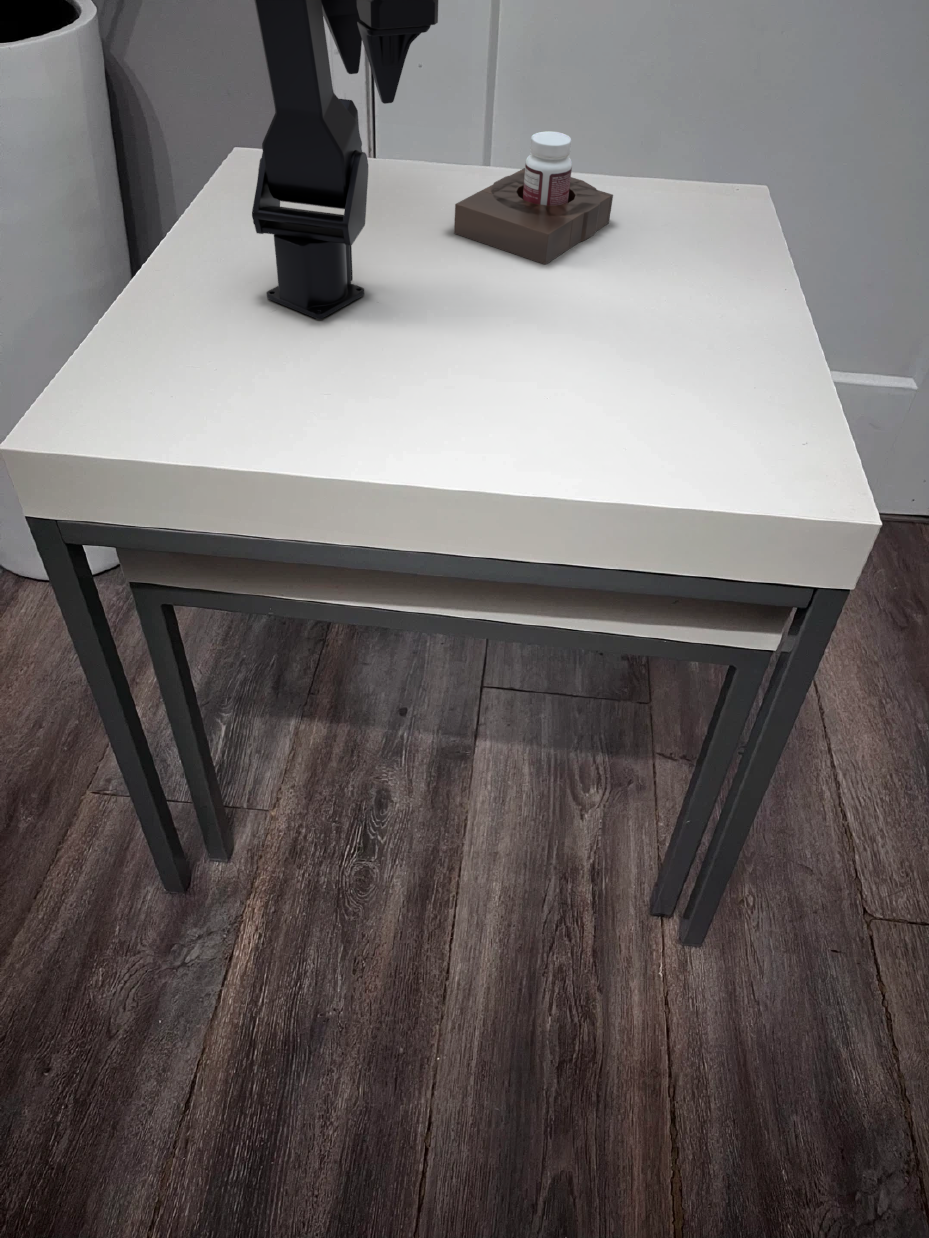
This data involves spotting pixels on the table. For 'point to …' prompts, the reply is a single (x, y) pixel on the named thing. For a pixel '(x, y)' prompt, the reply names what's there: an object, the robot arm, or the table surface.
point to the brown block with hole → (531, 218)
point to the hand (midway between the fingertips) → (369, 87)
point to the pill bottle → (548, 169)
